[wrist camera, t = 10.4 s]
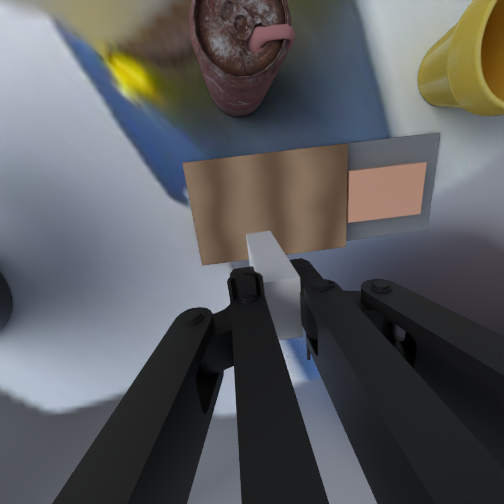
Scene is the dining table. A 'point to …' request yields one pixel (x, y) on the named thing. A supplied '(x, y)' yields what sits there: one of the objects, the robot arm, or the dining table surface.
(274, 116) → the dining table surface
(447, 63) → the plant pot
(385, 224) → the mat
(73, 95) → the dining table surface
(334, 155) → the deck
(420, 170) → the tile
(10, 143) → the dining table surface
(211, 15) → the can
